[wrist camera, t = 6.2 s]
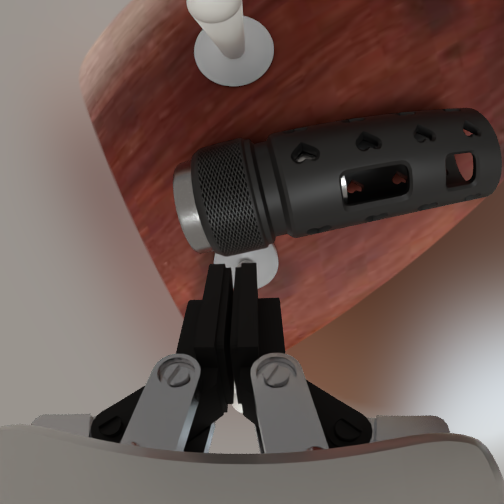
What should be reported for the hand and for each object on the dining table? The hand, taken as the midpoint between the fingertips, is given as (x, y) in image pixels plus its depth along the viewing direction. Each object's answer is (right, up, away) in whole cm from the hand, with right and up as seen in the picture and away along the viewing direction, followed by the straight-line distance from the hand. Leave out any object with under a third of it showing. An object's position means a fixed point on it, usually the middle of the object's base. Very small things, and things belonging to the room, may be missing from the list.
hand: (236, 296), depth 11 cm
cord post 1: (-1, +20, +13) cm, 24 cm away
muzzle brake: (+9, +11, +19) cm, 24 cm away
